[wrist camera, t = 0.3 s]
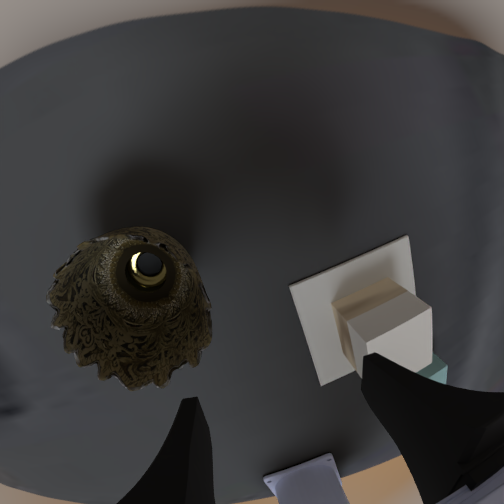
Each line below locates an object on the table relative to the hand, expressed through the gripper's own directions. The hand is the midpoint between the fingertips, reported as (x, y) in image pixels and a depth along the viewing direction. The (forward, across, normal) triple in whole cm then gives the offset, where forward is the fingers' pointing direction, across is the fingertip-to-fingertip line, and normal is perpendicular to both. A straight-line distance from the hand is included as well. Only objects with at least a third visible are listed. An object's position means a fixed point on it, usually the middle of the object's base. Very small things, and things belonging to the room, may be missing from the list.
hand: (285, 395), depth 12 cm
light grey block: (+7, -9, +4) cm, 12 cm away
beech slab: (+10, -9, +4) cm, 13 cm away
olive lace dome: (+10, +6, -4) cm, 12 cm away
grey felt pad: (+10, -9, +4) cm, 14 cm away
